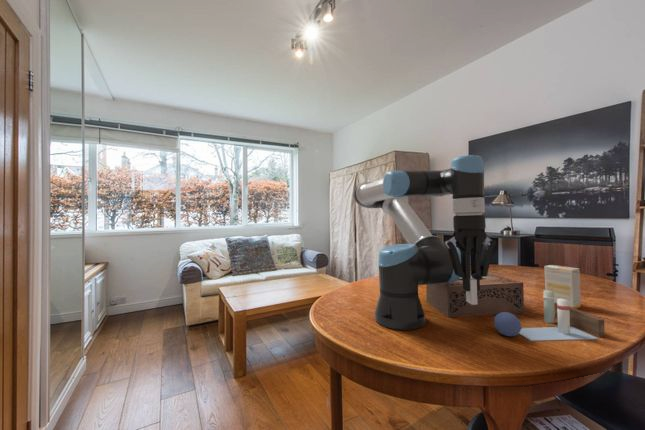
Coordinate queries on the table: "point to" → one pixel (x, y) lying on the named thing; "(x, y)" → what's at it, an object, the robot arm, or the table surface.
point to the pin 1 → (549, 306)
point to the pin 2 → (563, 316)
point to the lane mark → (553, 334)
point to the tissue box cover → (478, 297)
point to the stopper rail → (585, 321)
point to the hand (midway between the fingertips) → (471, 302)
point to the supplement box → (564, 284)
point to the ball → (507, 324)
